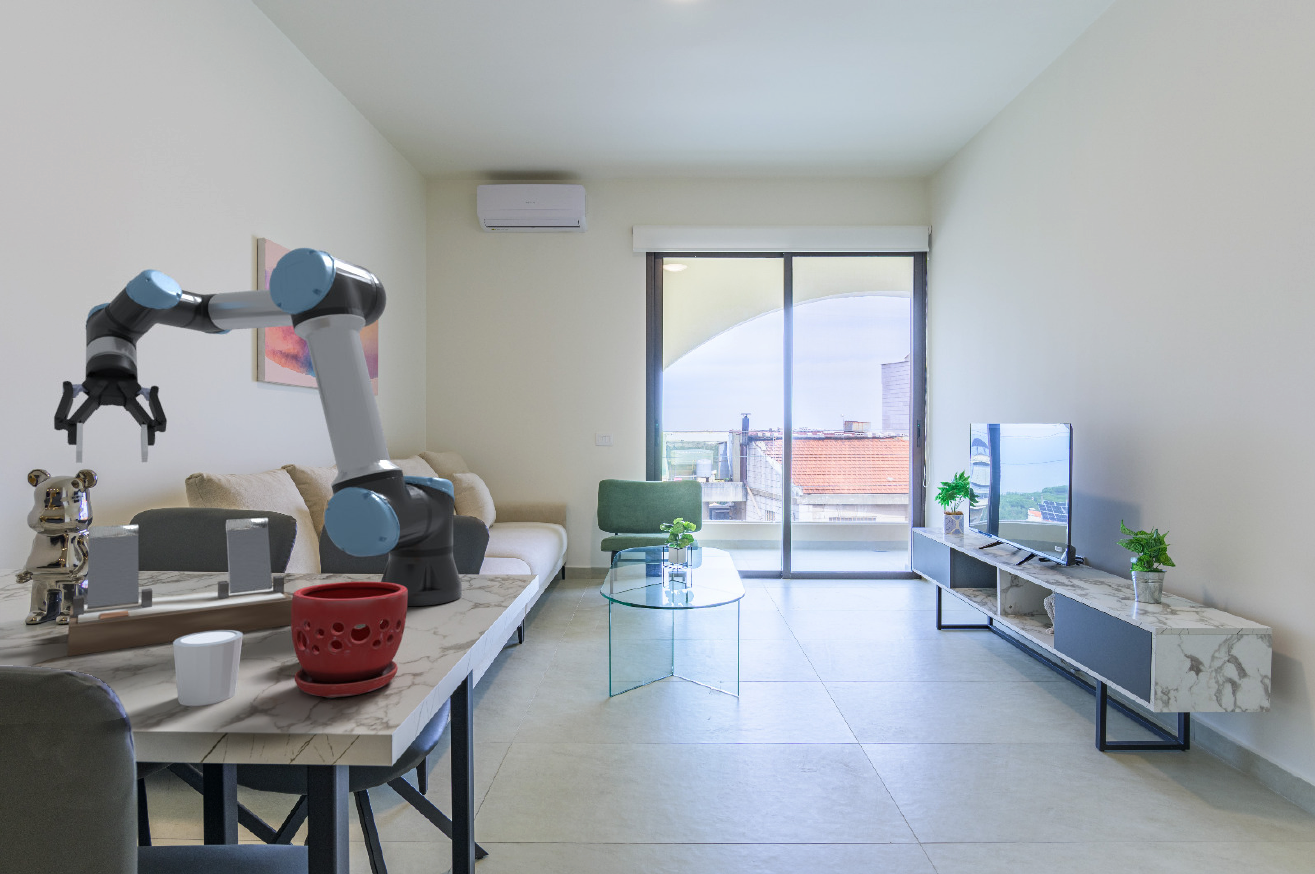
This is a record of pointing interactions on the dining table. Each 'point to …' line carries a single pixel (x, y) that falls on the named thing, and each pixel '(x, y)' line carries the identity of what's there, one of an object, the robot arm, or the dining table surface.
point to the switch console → (175, 617)
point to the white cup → (207, 666)
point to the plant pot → (347, 636)
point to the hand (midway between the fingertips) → (112, 456)
